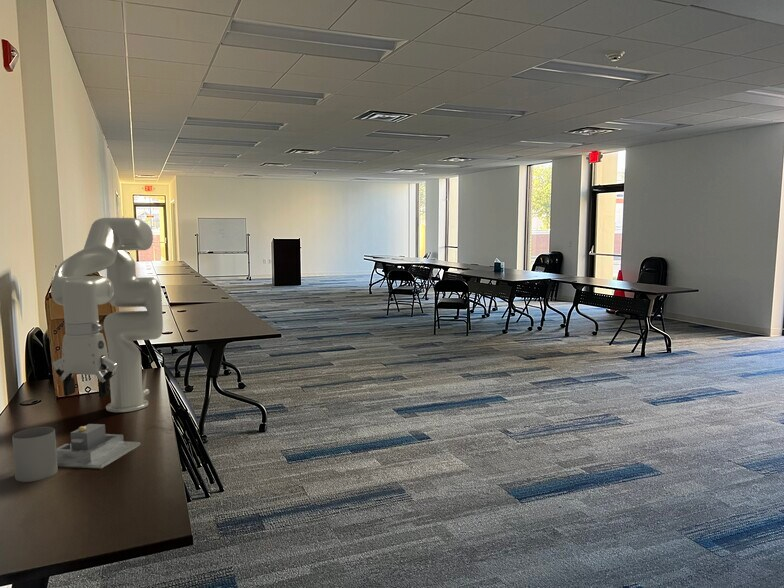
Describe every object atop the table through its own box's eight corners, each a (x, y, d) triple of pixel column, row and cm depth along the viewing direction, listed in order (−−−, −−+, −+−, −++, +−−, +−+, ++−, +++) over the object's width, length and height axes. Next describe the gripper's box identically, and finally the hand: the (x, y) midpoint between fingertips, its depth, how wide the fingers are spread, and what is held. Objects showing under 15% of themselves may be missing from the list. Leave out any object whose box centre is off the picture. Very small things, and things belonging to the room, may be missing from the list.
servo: (93, 444, 151) (91, 418, 150) (108, 445, 150) (107, 419, 149) (68, 457, 142) (67, 430, 141) (85, 458, 141) (83, 430, 140)
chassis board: (79, 442, 155) (78, 430, 155) (140, 445, 152) (139, 433, 152) (34, 464, 139) (33, 452, 139) (101, 468, 137) (100, 455, 136)
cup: (65, 469, 136) (63, 428, 135) (34, 483, 129) (31, 440, 128) (39, 465, 139) (36, 425, 138) (6, 478, 131) (3, 436, 130)
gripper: (123, 327, 145) (127, 392, 148) (62, 325, 148) (66, 389, 150) (104, 332, 138) (108, 401, 140) (40, 330, 141) (45, 398, 143)
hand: (87, 395), depth 145 cm, fingers open, 9 cm apart
